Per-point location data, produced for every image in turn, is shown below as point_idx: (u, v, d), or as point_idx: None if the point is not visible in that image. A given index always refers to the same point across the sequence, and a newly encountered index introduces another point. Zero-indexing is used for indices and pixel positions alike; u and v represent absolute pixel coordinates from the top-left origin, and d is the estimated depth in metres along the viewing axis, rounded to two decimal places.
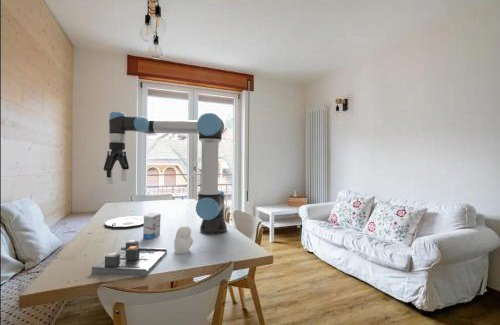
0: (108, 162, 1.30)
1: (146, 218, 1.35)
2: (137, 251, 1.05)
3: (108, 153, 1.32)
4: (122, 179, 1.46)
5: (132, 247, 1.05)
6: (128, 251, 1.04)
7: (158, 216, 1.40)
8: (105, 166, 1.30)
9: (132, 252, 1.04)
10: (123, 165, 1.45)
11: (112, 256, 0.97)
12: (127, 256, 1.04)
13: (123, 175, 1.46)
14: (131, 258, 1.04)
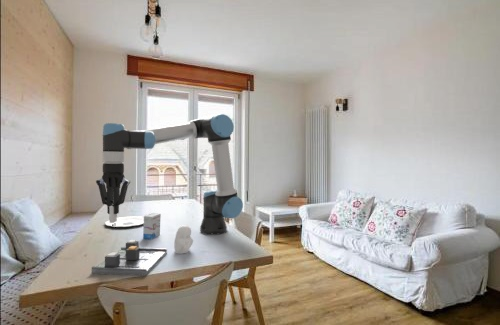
0: None
1: (146, 218, 1.35)
2: (137, 251, 1.05)
3: None
4: None
5: (132, 247, 1.05)
6: (128, 251, 1.04)
7: (158, 216, 1.40)
8: None
9: (132, 252, 1.04)
10: None
11: (112, 256, 0.97)
12: (127, 256, 1.04)
13: None
14: (131, 258, 1.04)
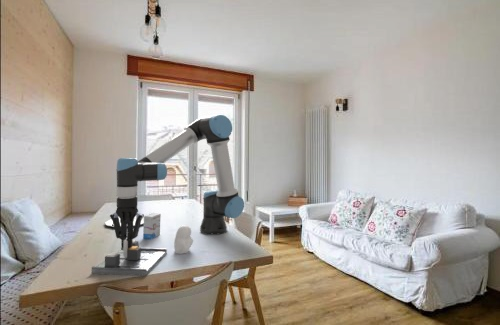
0: None
1: (146, 218, 1.35)
2: (138, 251, 1.05)
3: None
4: None
5: (133, 247, 1.05)
6: (129, 251, 1.04)
7: (158, 216, 1.40)
8: None
9: (133, 252, 1.04)
10: None
11: (112, 256, 0.97)
12: (128, 256, 1.04)
13: None
14: (132, 258, 1.04)
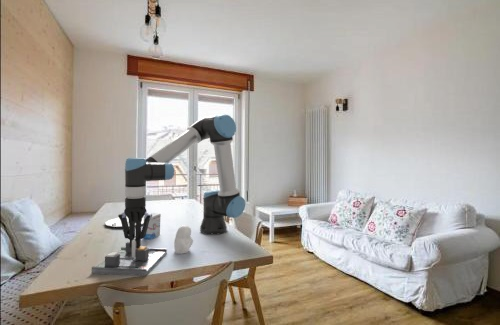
0: None
1: None
2: (146, 251, 1.05)
3: None
4: None
5: (141, 247, 1.05)
6: (137, 251, 1.04)
7: (158, 216, 1.40)
8: None
9: (142, 252, 1.04)
10: None
11: (112, 256, 0.97)
12: (137, 256, 1.04)
13: None
14: (141, 258, 1.04)
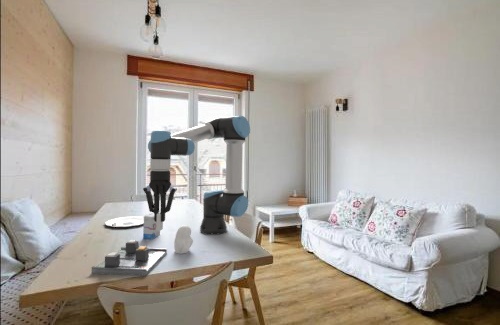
0: None
1: (146, 218, 1.35)
2: (147, 251, 1.05)
3: None
4: None
5: (142, 247, 1.05)
6: (137, 251, 1.04)
7: None
8: None
9: (142, 252, 1.04)
10: None
11: (112, 256, 0.97)
12: (137, 256, 1.04)
13: None
14: (141, 258, 1.04)
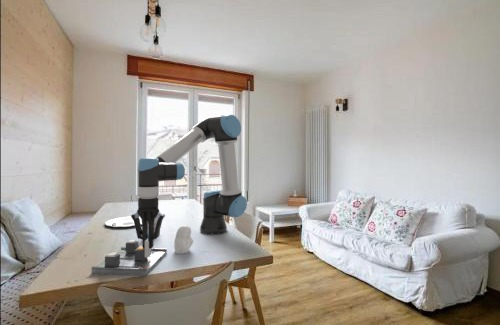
0: None
1: None
2: None
3: None
4: None
5: (141, 247, 1.05)
6: (136, 251, 1.04)
7: None
8: None
9: (141, 252, 1.04)
10: None
11: (112, 256, 0.97)
12: (136, 256, 1.04)
13: None
14: (140, 258, 1.04)
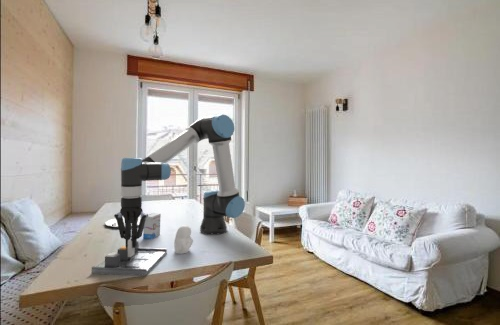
0: None
1: (146, 218, 1.35)
2: None
3: None
4: None
5: (124, 247, 1.05)
6: (119, 251, 1.04)
7: (158, 216, 1.40)
8: None
9: (124, 252, 1.04)
10: None
11: (112, 256, 0.97)
12: None
13: None
14: (123, 258, 1.04)
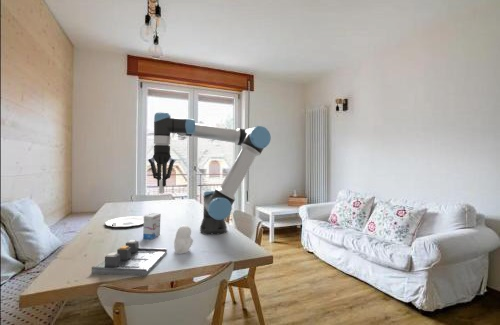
0: None
1: (146, 218, 1.35)
2: (128, 251, 1.05)
3: None
4: None
5: (123, 247, 1.05)
6: (119, 251, 1.04)
7: (158, 216, 1.40)
8: None
9: (123, 252, 1.04)
10: None
11: (112, 256, 0.97)
12: None
13: None
14: (122, 258, 1.04)
